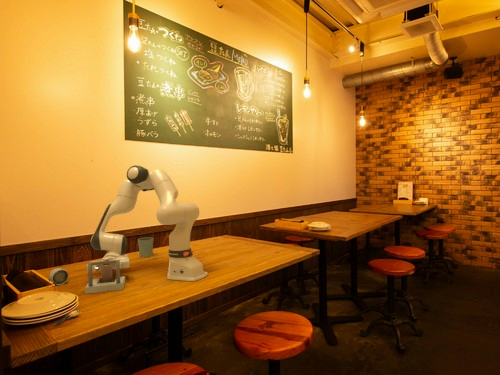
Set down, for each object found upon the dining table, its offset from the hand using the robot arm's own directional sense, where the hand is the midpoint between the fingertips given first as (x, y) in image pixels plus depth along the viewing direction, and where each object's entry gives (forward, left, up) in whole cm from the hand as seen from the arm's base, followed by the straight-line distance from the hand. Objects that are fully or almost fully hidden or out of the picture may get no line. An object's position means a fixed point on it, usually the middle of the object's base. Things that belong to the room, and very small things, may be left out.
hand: (106, 268), depth 154 cm
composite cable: (-19, +32, -9) cm, 38 cm away
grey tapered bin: (+29, -52, -9) cm, 60 cm away
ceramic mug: (+27, +10, -9) cm, 30 cm away
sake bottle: (0, 0, -9) cm, 9 cm away
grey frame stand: (-2, +2, -9) cm, 9 cm away
